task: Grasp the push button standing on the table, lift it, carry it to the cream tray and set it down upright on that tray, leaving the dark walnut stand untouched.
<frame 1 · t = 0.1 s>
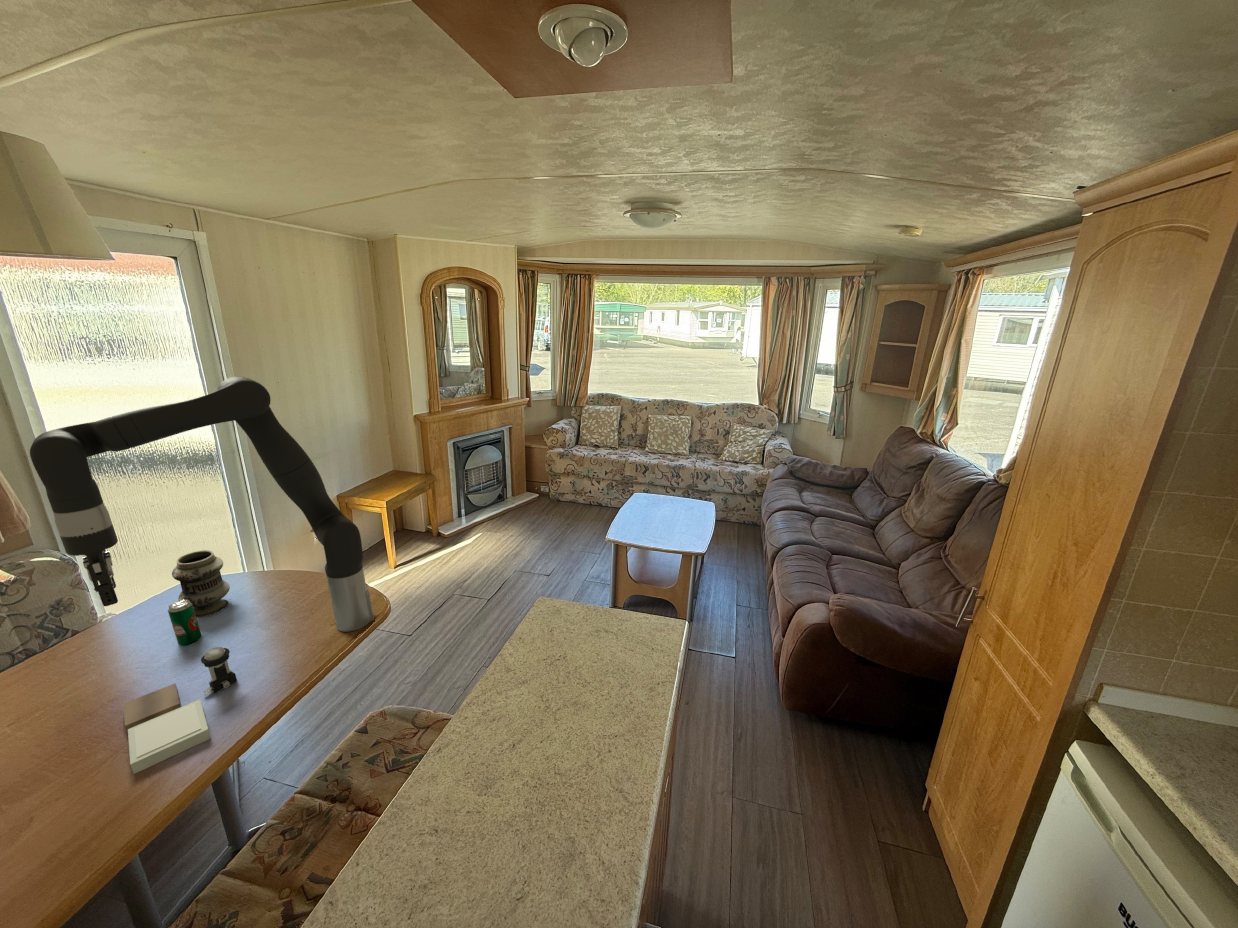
hand: (110, 596, 105), 29 cm above the table, fingers open, 8 cm apart
walnut stand: (153, 710, 112), on the table
soda can: (190, 641, 136), on the table
cream tray: (171, 738, 105), on the table
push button: (221, 688, 119), on the table
apothecary jar: (209, 609, 151), on the table
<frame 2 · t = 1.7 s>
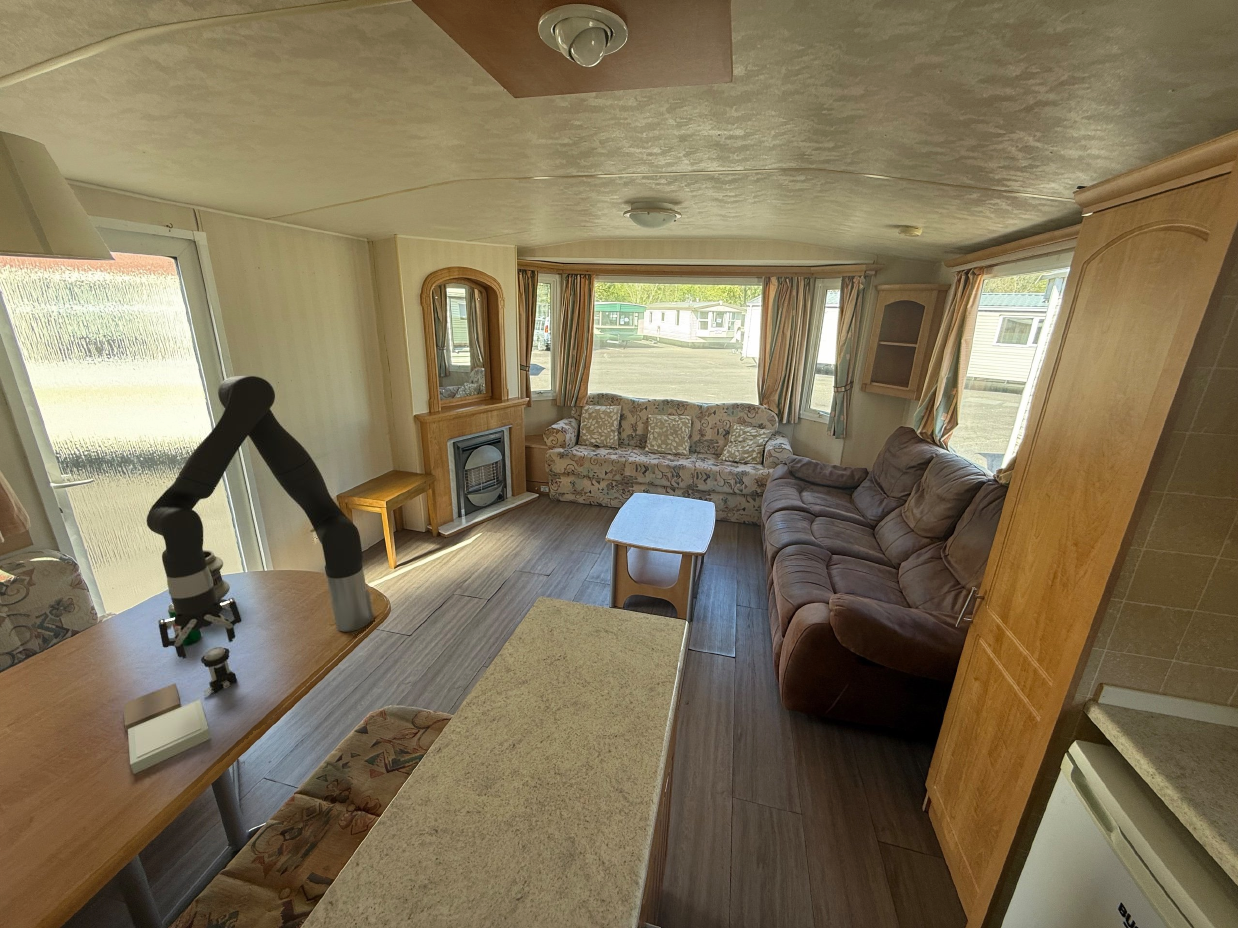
hand: (208, 648, 116), 11 cm above the table, fingers open, 8 cm apart
nothing on the table moved.
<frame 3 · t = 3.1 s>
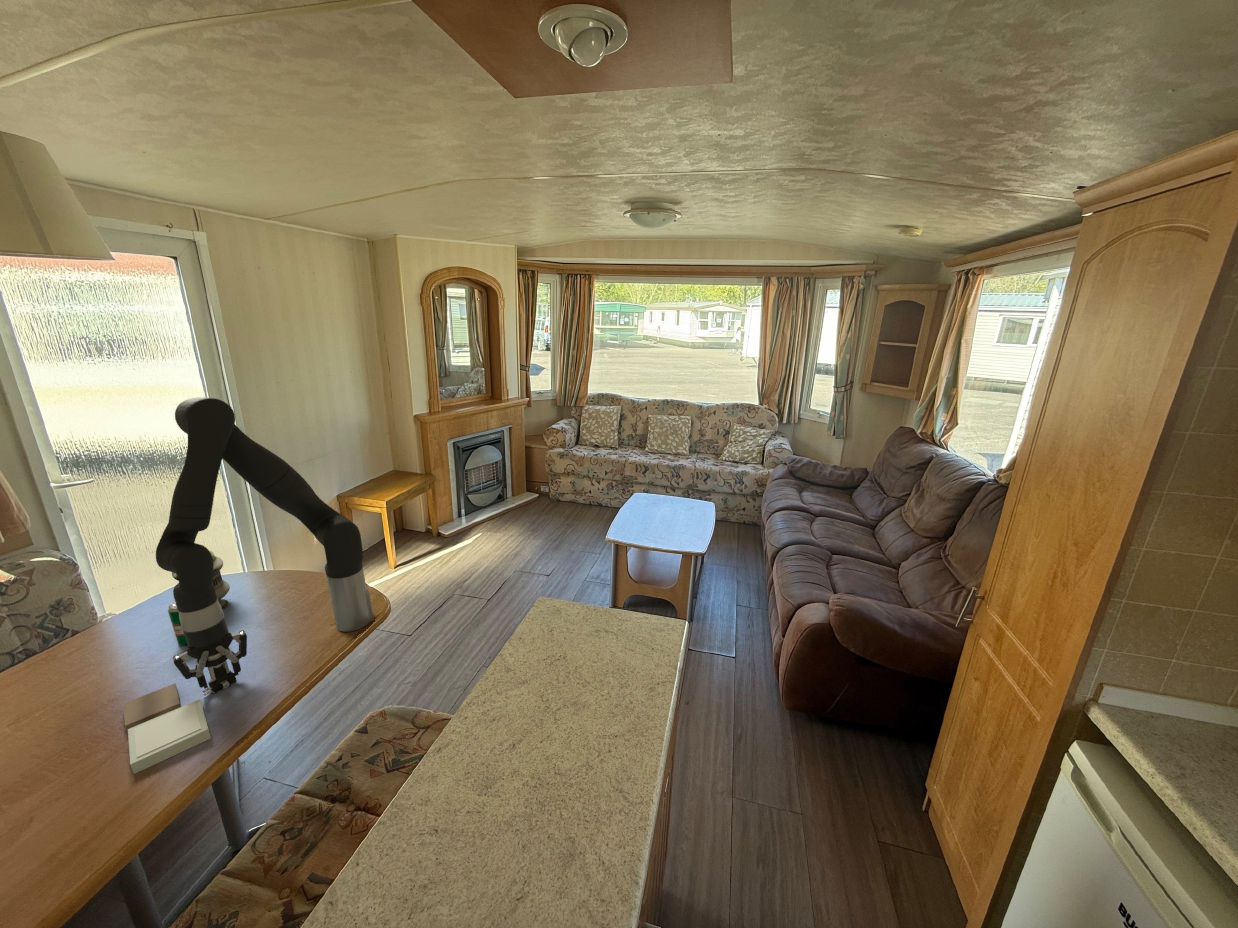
hand: (221, 679, 119), 2 cm above the table, fingers closed on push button, 5 cm apart
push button: (220, 688, 119), on the table, touching gripper
everything else where it was.
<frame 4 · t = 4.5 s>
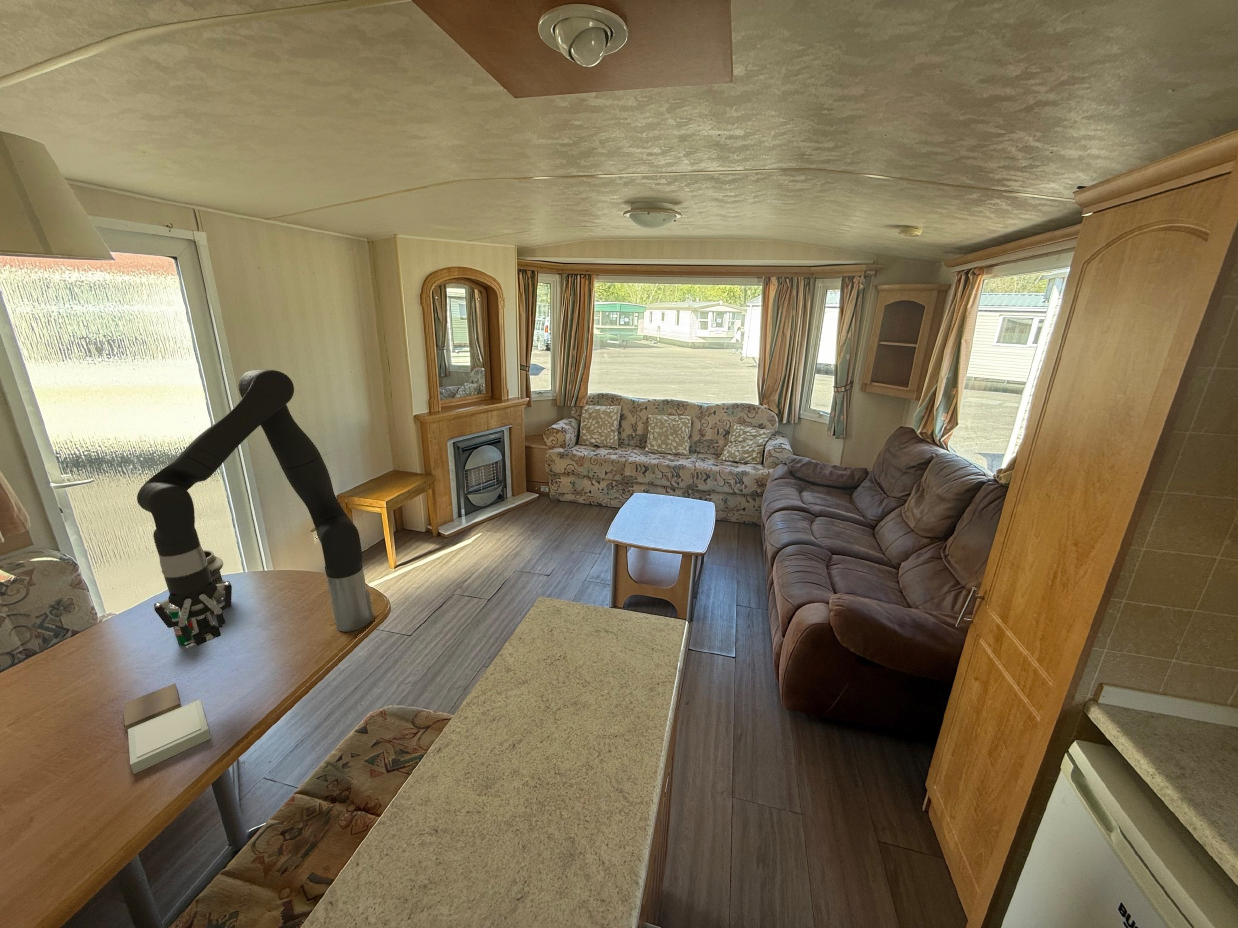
hand: (205, 631, 114), 16 cm above the table, fingers closed on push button, 5 cm apart
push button: (204, 641, 115), point 14 cm above the table, touching gripper
everything else where it was.
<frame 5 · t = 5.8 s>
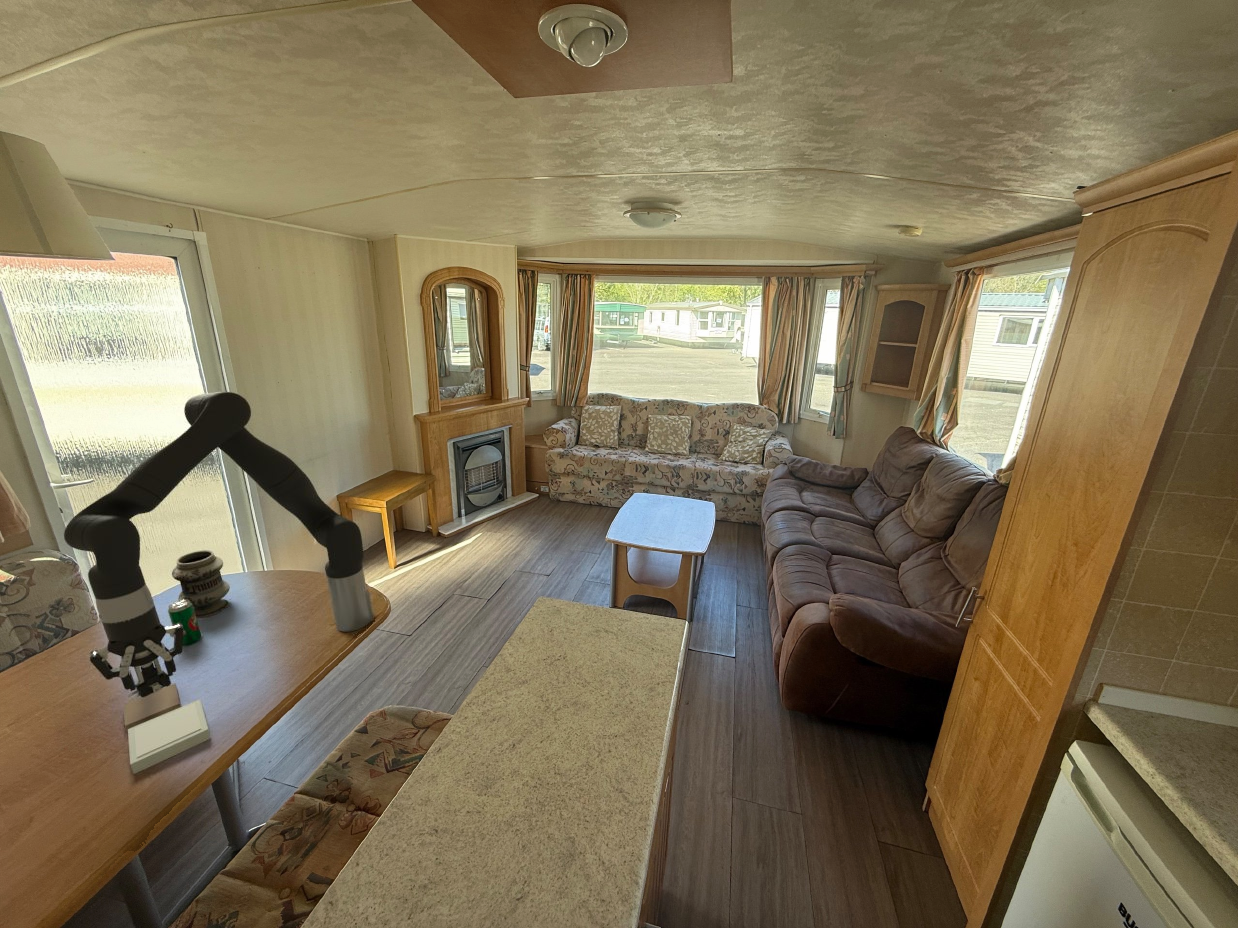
hand: (152, 680, 101), 15 cm above the table, fingers closed on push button, 5 cm apart
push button: (151, 692, 101), point 12 cm above the table, touching gripper
everything else where it was.
when the fingers open (5 cm above the table, at t = 7.9 s): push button stays where it is, resting on cream tray.
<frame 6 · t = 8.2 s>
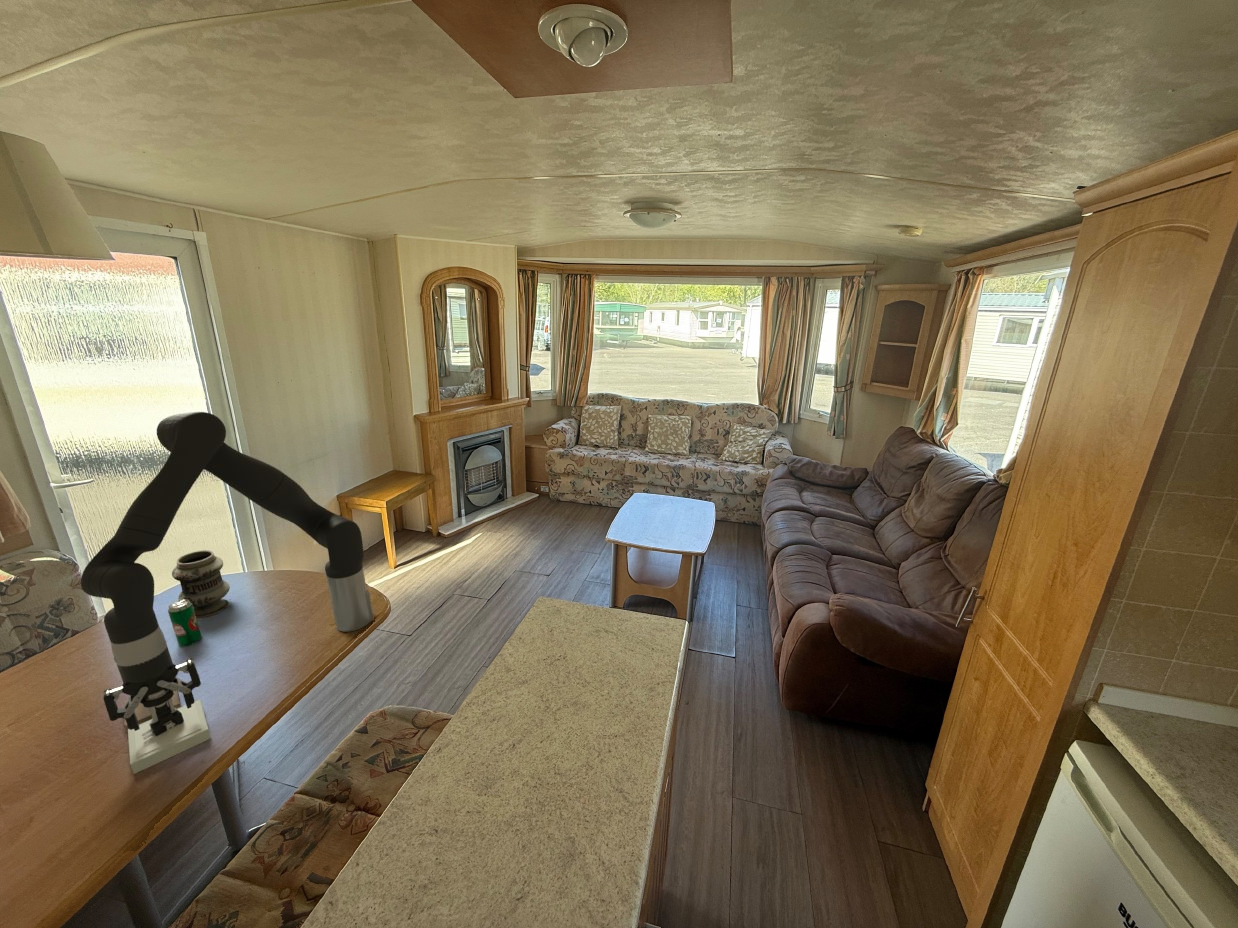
hand: (163, 716, 103), 6 cm above the table, fingers open, 8 cm apart
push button: (164, 730, 104), point 3 cm above the table, touching cream tray
everything else where it was.
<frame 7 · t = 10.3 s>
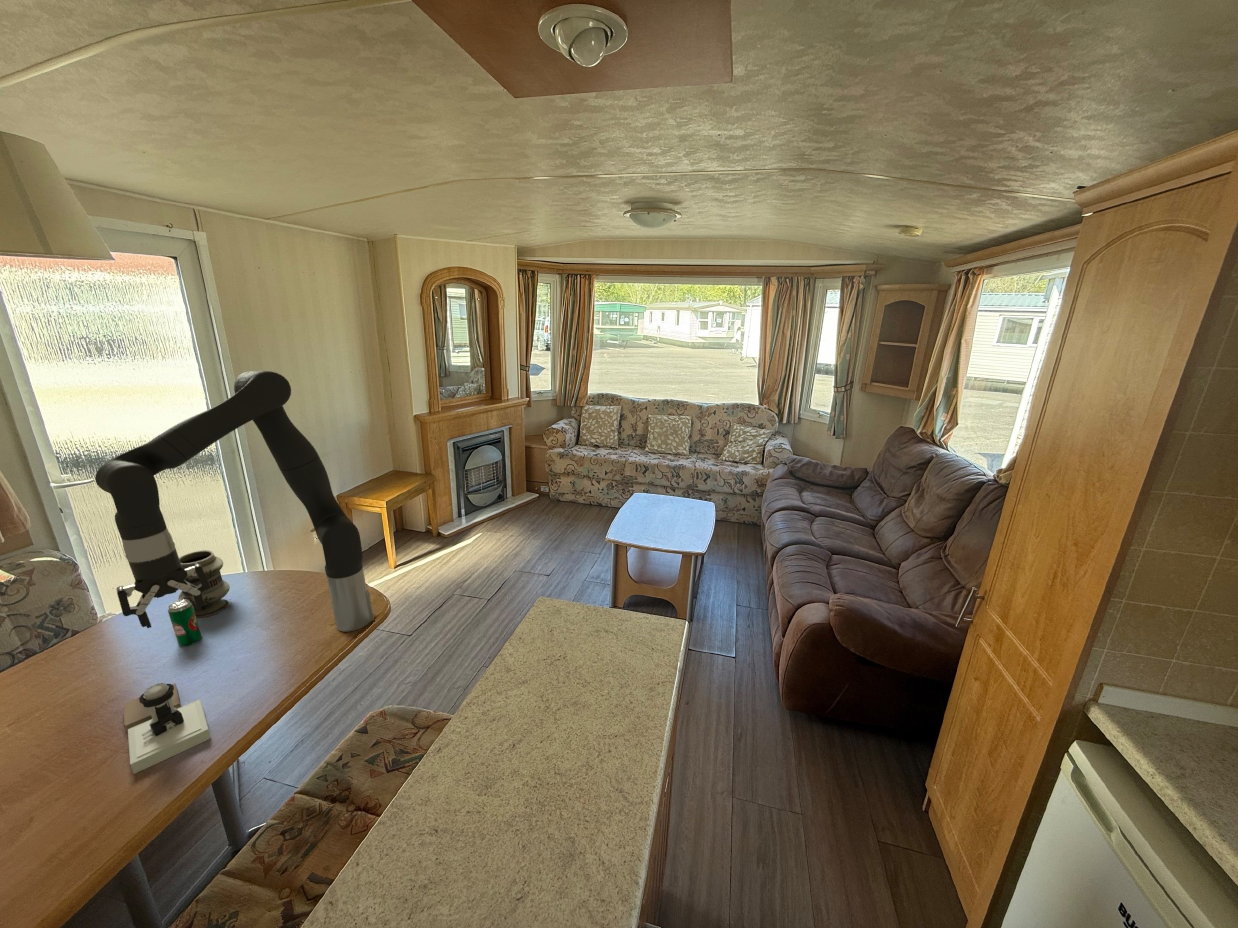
hand: (174, 617, 109), 23 cm above the table, fingers open, 8 cm apart
nothing on the table moved.
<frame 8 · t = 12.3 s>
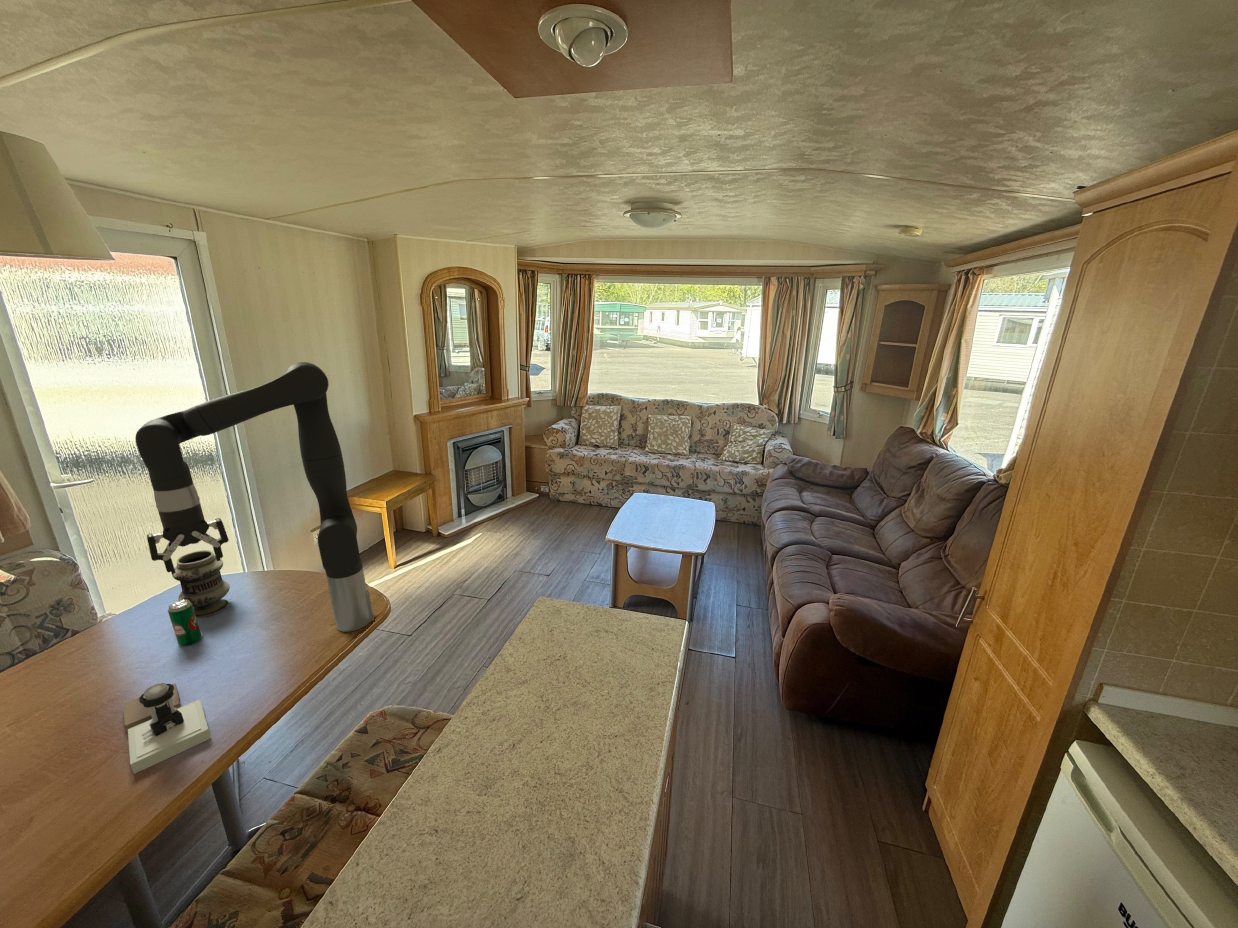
hand: (196, 566, 120), 28 cm above the table, fingers open, 8 cm apart
nothing on the table moved.
at the end: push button 0.5 cm from the cream tray (horizontally); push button touching cream tray; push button tilted 0° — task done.
